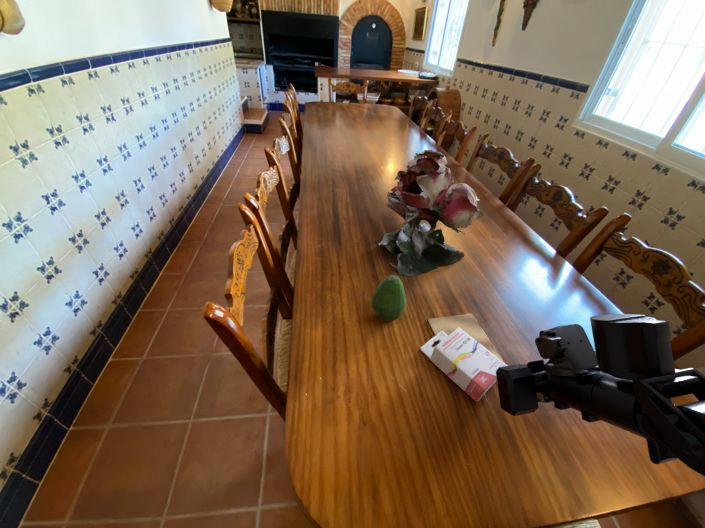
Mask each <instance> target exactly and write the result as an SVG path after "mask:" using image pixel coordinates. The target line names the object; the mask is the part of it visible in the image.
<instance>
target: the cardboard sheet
mask: <svg viewBox="0 0 705 528" xmlns="http://www.w3.org/2000/svg"><path fill="white" fill-rule="evenodd" d="M426 319H427V323H428V325H429V327H430V329H431V331H432V333H433V336H435V335H437V334H438V333H439V332H440V331H443V332H445V333H446V334H447V335H448V336H449V335H450V334H451V333H452V332H453V331H454V330H456V329H457V328H458V327H459V328H461V329H462V330H463V331H464V332H466V333H467V334H468V335H469V336H471V337H472V338H473V339H475V340H476V341H477V342H478V343H480V344H481V345H482V346H484V347H485V348H486V349H487V350H489V351H490V352H491V353H493V354H494V355H495V356H496V357H498V358H499V359H500V360H501V361H503V362H504V363H505V361H504V360H503V358H502V356H501V355H500V354H499V352H498V350H497V349H496V347H495V346H494V345H493V343H492V341H491V340H490V339H489V337H488V335H487V334H486V331H484V329H483V328H482V326H481V324H480V323H479V322H478V320H477V319H476V318H475V316H474V314H473V313H465V314H456V315H455V314H454V315H448V316H441V317H431V318H426ZM440 342H441V341H440V340H438V341H437V344H439V343H440Z"/></svg>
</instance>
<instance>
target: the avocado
mask: <svg viewBox="0 0 705 528" xmlns="http://www.w3.org/2000/svg"><path fill="white" fill-rule="evenodd" d="M406 303H407V296H406V291H405V288H404V284H403V281H402V280H401V279H400V277H399V276H397V275H396V274H389V275H387V276H385V278H384V279H383V280H382V281H381V282H380V283H379V284H378V286H377V287H376V288H375V289H374V291H373V294H372V298H371V307H372V310H373V312H374V313H375V314H376V315H377V317H379V318H380V319H381V320H383V321H385V322H386V321H387V322H392V321H396V320H398V319H399V318H400V317H401V316H402V315H403V313H404V312H405V310H406V305H407V304H406Z"/></svg>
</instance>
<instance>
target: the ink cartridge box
mask: <svg viewBox="0 0 705 528" xmlns="http://www.w3.org/2000/svg"><path fill="white" fill-rule="evenodd" d="M438 340H440V341H441V342H440V343H437V344H436V345H435V346H433V345H434V343H435V342H438ZM420 351H421V352H422V353H423V354H424V355H425V356H426V357H427V358H428V359H429V361H430V362H432V364H433V365H435V367H437V368H438V369H440V371H441V372H442V373H444V374H445V375H446V376H447V378H449V379H450V380H451V381H452V382H454V384H456V385H457V386H458V387H459V388H460V389H461V390H462V391H464V393H465V394H467V395H468V396H469V397H470V398H471V399H472V400H473V401H475V402H476V403H478V402H479V401H480V400H481V399H482V397H484V396H485V394H486V393H487V392H488V391H489V390H490V389H491V388H492V386H493V385H494V384H495V383H497V377H496V371H497V369H498V368H499V367H504V366H509V365H508V364H506V363H505V361H504V360H503V361H504V362H503V361H501V360H500V359H499V358H498V357H496V356H495V355H494V354H493V353H491V352H490V351H489V350H487V349H486V348H485V347H484V346H482V345H481V344H480V343H478V342H477V341H476V340H475V339H473V338H472V337H471V336H469V335H468V334H467V333H466V332H464V331H463V330H462V329H461V328H459V327H458V328H457V329H456V330H454V331H453V332H452V333H451V334H450V335H449V336H448V335H447V334H446V333H445V332H443V331H440V332H439V333H438V334H437V335H433V337H432V338H430V339H429V340H428V341H426V343H424V344H423V345H422V346H420Z"/></svg>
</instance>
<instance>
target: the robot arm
mask: <svg viewBox="0 0 705 528" xmlns="http://www.w3.org/2000/svg"><path fill="white" fill-rule="evenodd" d="M589 320H590V327H591V333H592V340H593V345H594V347H593V345H592V342H591V341H590V338H589V336H588V334H587V333H586V330H585V329H584V327H583V326H582V325H581V324H579V323H572V324H571V323H570V324H564V325H558V326H554V327H551V328H549V329H544V330H540V331H539V333H538V337H535V340H534V344H535V346H536V348H537V349H536V350H537V351H538V353H539V356H540V357H541V358H542V359H537V360H532V361H529V362H527V363H526V364H510V365H508V366H504V367H499V368H498V369H497V371H496V377H497V381H496V383H497V384H496V385H497V392H498V398H499V399H498V400H499V405H500V409H501V410H502V411H504V412H505V413H507V414H509V415H511V416H513V417H516V416H522V415H527V414H531V413H535V412H536V411H537V410H538V409H539V408H540V407H539V403H542V404H549V403H550V404H551V403H553V406H554V408H555V409H557V410H560V411H564V410H568V409H573V410H575V411H578V412H579V413H580V415H581V420H582V421H585V422H587V423H590V424H591V423H595V422H600V421H601V422H604V423H607V424H609V425H612V426H613V427H616V428H619V429H621V430H624V431H626V432H629V433H631V434H634V435H635V436H637V437H640V438H643V439H645V441H646V446H647V450H648V457H649V460H650V462H651V463H652V464H654V465H661V464H664V463H668V462H672V461H675V460H679V461H680V462H681V463H682V464H684V465H685V466H686V467H688V468H689V469H691V470H693V471H694V472H695V473H698V474H699V475H701V476H703V477H704V478H705V374H704V373H702V372H700V371H699V370H698V369H696V368H694V367H688V368H683V369H680V368H679V369H678V368H676V367H675V361H674V355H673V350H672V345H671V336H672V333H671V327H670V323H669V322H668V321H667V320H660V319H659V320H658V319H657V318H655V317H651V316H647V315H646V314H640V313H639V314H638V313H635V314H634V313H612V314H598V315H593V316H590V317H589ZM544 360H547V362H545V361H544ZM688 395H693V396H694V397H695V398H696V399H697V400H696V401H692V402H687V403H683V404H678V405H676V404H675V403H674V402H673V399H675V398H679V397H682V396H688Z"/></svg>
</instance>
